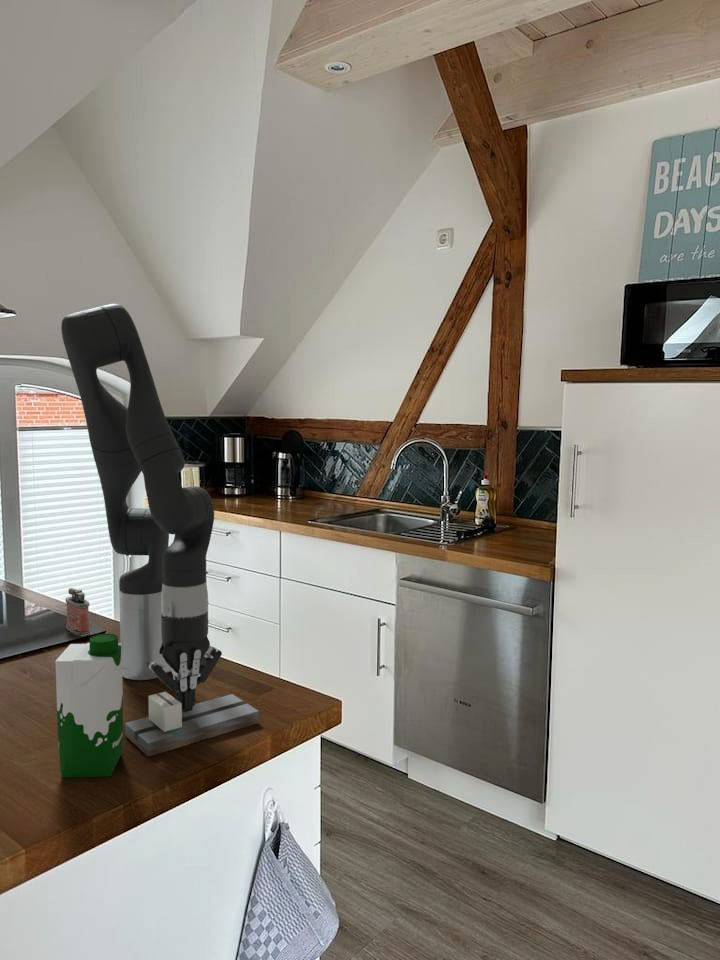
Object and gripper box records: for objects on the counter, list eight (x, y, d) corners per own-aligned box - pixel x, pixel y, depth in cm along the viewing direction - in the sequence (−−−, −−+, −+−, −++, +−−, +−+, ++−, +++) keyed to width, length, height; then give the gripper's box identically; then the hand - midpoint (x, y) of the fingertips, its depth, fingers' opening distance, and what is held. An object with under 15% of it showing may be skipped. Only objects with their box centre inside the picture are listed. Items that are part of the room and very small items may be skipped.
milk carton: (115, 779, 111) (113, 647, 108) (51, 781, 110) (47, 648, 108) (128, 751, 120) (126, 628, 117) (69, 752, 119) (66, 628, 116)
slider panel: (232, 705, 137) (232, 693, 137) (258, 723, 130) (258, 710, 130) (125, 735, 125) (125, 722, 125) (148, 756, 118) (147, 742, 118)
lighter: (93, 634, 175) (92, 592, 174) (79, 637, 173) (78, 594, 171) (76, 626, 180) (75, 585, 179) (63, 629, 178) (61, 587, 177)
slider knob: (165, 721, 128) (165, 690, 127) (181, 734, 123) (181, 702, 122) (148, 725, 126) (148, 695, 125) (164, 739, 121) (164, 707, 120)
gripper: (209, 597, 131) (210, 693, 133) (136, 610, 123) (138, 712, 125) (231, 607, 126) (231, 707, 128) (156, 621, 117) (158, 728, 119)
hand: (185, 709), depth 126 cm, fingers closed
